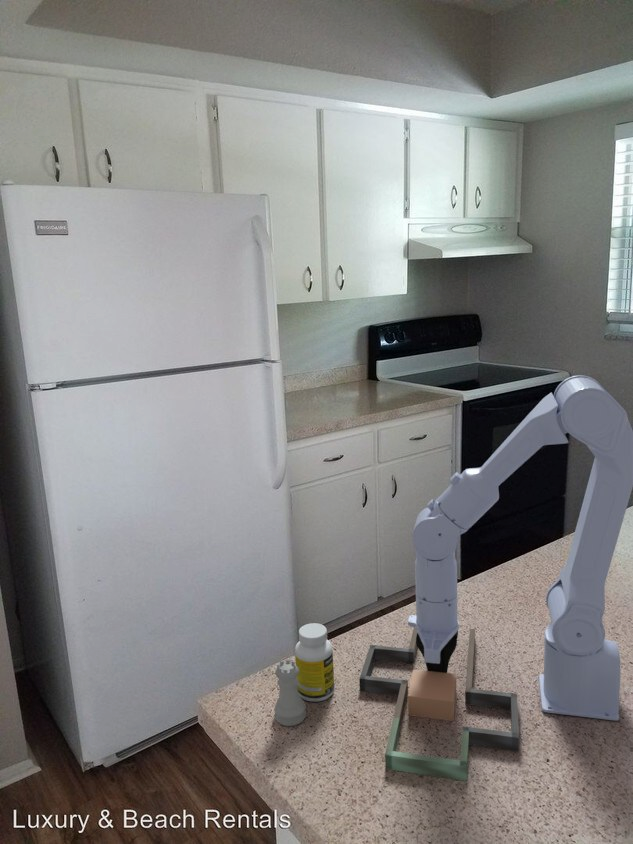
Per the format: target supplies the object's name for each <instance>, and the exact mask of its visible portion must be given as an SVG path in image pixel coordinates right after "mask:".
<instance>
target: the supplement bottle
mask: <svg viewBox="0 0 633 844" xmlns="http://www.w3.org/2000/svg"><path fill="white" fill-rule="evenodd" d="M298 639H299V641H298V642H297V643H296V645H295V647H294V657H295V659H294V660H295V661H294V662H295V664H296V666H297V667H298V668H299V674H298V675H297V676H296V677H297V678H298V683H297V687H298V692H299V696H301V698H302V700H303V701H307V702H310V703H311V702H312V703H314V702H322V701H325V700H327V699H329V698H330V697H331V696H332V695H333V694H334V692H335V676H334V675H335V674H334V673H335V671H334V670H335V669H334V652H333V651H334V650H333V645H332V643H331V641H330V640H328V631H327V627H326V626H325V625H323V624H321V623H317V622H316V623H315V622H313V623H311V622H310V623H307V624H304V625H302V626H301V627H300V628H299V630H298Z"/></svg>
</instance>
